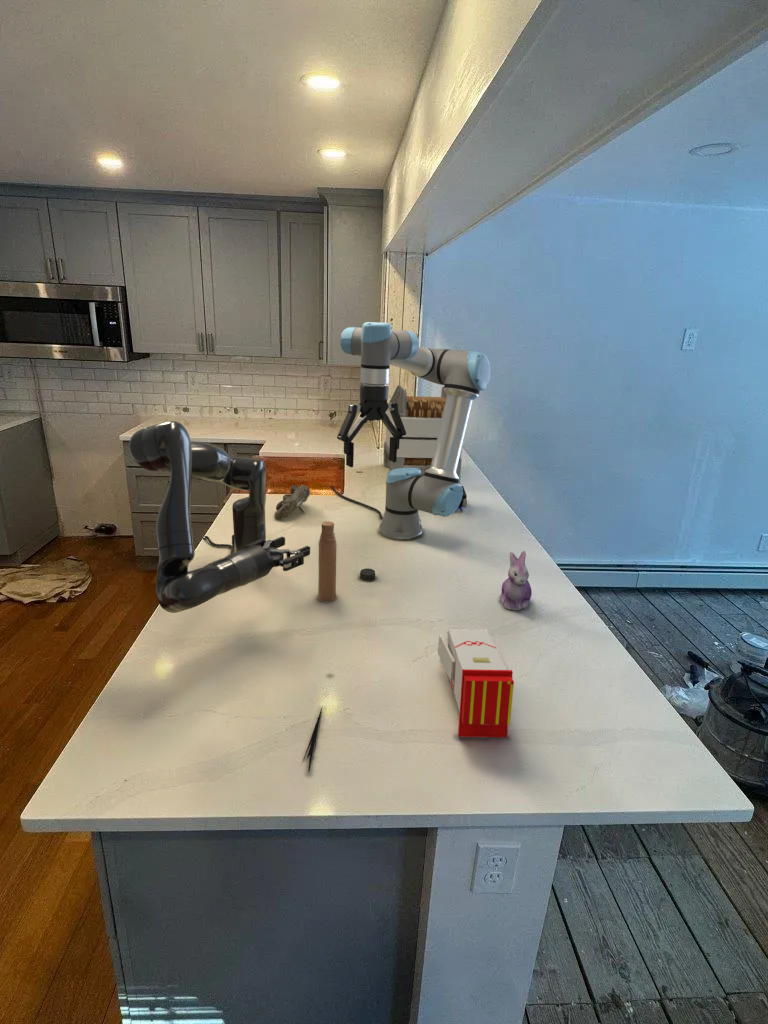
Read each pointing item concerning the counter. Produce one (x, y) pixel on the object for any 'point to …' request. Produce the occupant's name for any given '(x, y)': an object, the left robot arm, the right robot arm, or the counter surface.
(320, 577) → the bottle
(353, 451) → the right robot arm
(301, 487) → the fossil
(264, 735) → the counter surface
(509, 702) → the toy
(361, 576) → the cap
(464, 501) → the figurine character
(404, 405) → the stacked slatted crates
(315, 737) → the feather
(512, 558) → the figurine
